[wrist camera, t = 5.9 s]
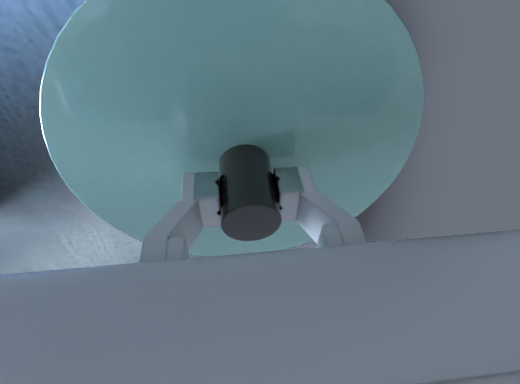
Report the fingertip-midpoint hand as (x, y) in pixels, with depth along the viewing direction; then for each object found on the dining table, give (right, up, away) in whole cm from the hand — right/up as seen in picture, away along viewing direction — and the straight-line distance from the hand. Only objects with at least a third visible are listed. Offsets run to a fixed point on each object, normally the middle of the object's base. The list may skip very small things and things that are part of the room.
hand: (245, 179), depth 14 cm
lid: (0, +1, +1) cm, 2 cm away
